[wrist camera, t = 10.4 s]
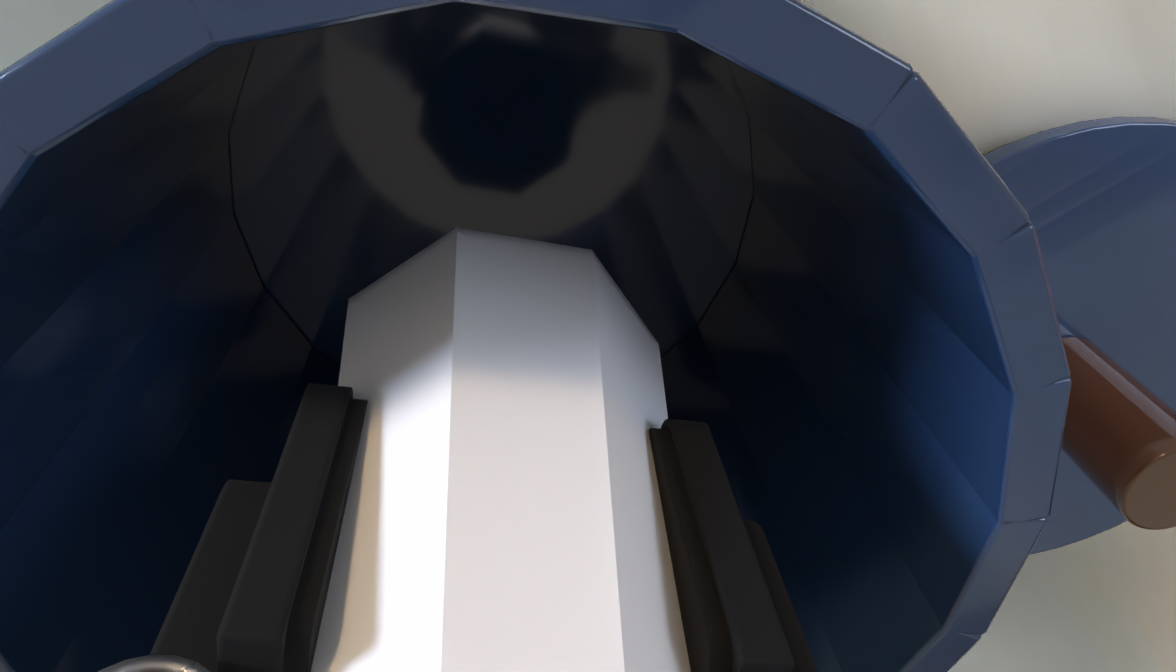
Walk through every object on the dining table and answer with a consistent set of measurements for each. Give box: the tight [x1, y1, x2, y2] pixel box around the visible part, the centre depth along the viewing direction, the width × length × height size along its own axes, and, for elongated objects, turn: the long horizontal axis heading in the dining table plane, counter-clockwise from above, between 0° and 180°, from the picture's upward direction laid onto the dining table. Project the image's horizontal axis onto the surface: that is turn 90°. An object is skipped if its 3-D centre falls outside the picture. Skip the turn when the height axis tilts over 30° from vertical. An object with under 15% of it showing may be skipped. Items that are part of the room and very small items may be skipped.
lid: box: [984, 117, 1176, 555], centre depth 22 cm, size 15×15×6 cm
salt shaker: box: [311, 227, 691, 672], centre depth 9 cm, size 5×5×11 cm
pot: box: [0, 0, 1072, 672], centre depth 16 cm, size 14×14×12 cm
